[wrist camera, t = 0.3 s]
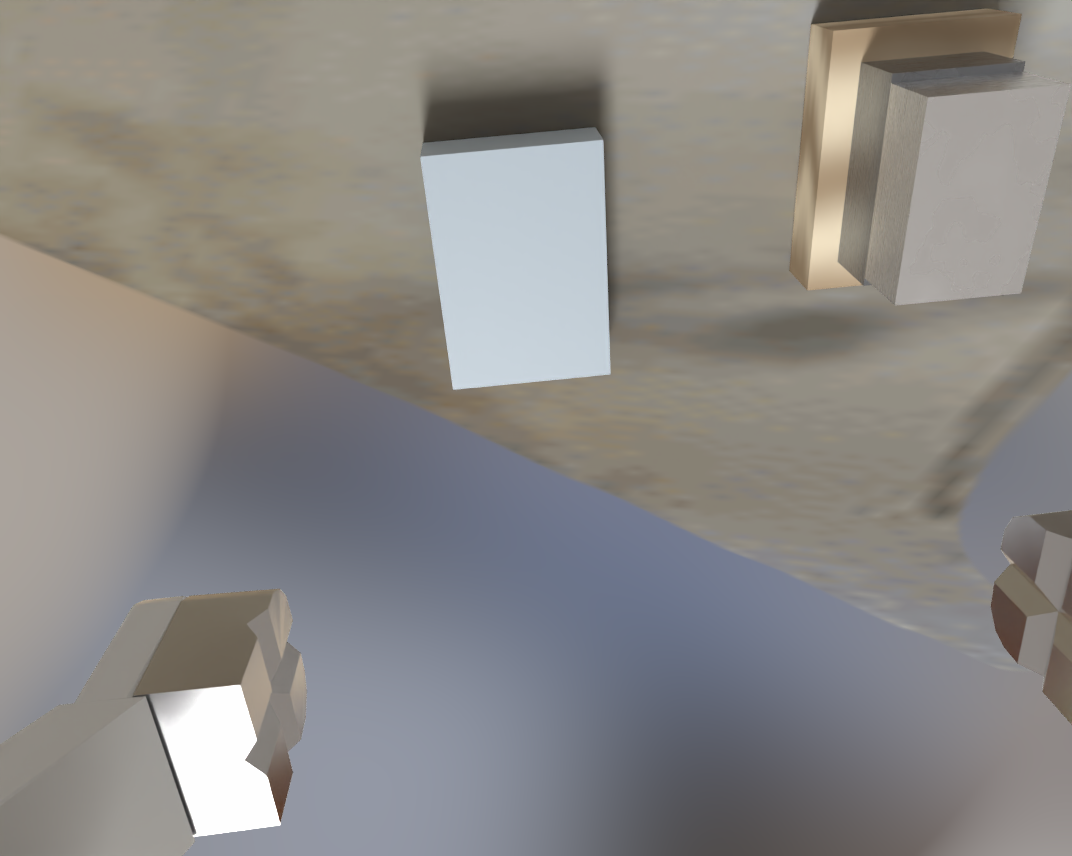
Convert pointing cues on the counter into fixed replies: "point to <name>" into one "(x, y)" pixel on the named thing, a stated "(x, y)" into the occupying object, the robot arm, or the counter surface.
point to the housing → (948, 175)
